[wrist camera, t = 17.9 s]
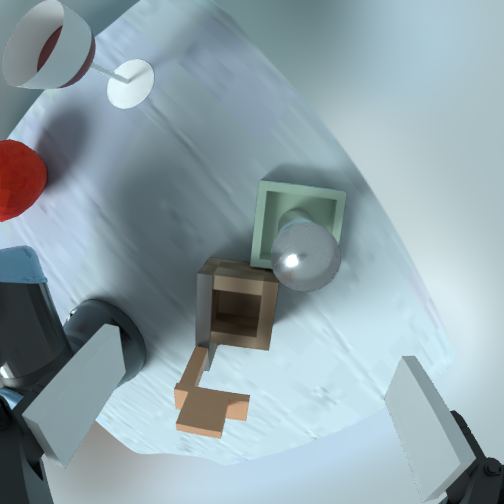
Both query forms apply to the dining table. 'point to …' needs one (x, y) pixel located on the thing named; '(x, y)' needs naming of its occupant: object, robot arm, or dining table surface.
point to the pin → (304, 252)
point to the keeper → (205, 401)
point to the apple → (19, 178)
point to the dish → (286, 198)
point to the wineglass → (67, 56)
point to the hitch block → (234, 305)
